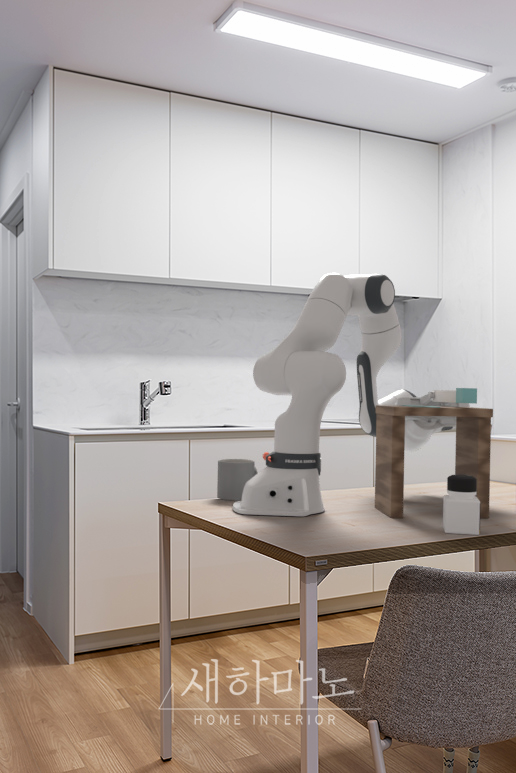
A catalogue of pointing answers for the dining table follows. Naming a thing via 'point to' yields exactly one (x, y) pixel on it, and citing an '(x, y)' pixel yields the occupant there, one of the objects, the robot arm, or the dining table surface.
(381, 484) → the shelf
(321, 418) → the robot arm
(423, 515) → the dining table surface
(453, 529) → the medicine bottle
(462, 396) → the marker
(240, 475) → the coffee mug
